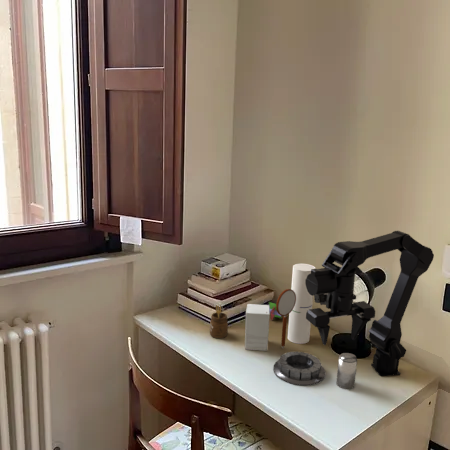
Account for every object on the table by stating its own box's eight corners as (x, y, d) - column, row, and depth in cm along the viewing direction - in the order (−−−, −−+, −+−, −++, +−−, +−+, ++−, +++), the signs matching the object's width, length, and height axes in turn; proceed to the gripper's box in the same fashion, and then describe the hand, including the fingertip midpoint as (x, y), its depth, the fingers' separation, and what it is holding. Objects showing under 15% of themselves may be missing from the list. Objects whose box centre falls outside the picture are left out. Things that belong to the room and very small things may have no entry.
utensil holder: (228, 331, 173) (229, 298, 170) (226, 340, 167) (227, 305, 164) (210, 329, 174) (212, 296, 171) (208, 338, 168) (209, 304, 165)
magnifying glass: (275, 353, 160) (279, 293, 155) (271, 351, 161) (275, 291, 156) (293, 345, 166) (298, 287, 161) (289, 343, 167) (294, 285, 162)
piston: (350, 379, 147) (353, 351, 145) (357, 388, 142) (360, 361, 140) (333, 380, 146) (336, 352, 144) (340, 390, 142) (343, 361, 139)
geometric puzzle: (276, 320, 178) (284, 298, 181) (259, 315, 182) (266, 294, 184) (283, 325, 184) (290, 305, 186) (266, 320, 188) (273, 300, 190)
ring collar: (315, 357, 159) (316, 348, 158) (332, 384, 144) (333, 374, 144) (267, 359, 156) (268, 350, 155) (281, 387, 142) (281, 377, 141)
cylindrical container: (310, 344, 167) (317, 271, 160) (288, 343, 167) (294, 270, 161) (307, 334, 174) (313, 264, 167) (286, 333, 174) (291, 263, 167)
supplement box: (267, 340, 168) (270, 304, 165) (267, 351, 161) (269, 314, 158) (245, 338, 169) (247, 303, 166) (243, 349, 162) (245, 312, 158)
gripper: (355, 275, 149) (350, 324, 153) (297, 282, 142) (294, 334, 146) (379, 289, 139) (373, 341, 143) (318, 298, 132) (314, 352, 136)
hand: (338, 341), depth 142 cm, fingers open, 9 cm apart
